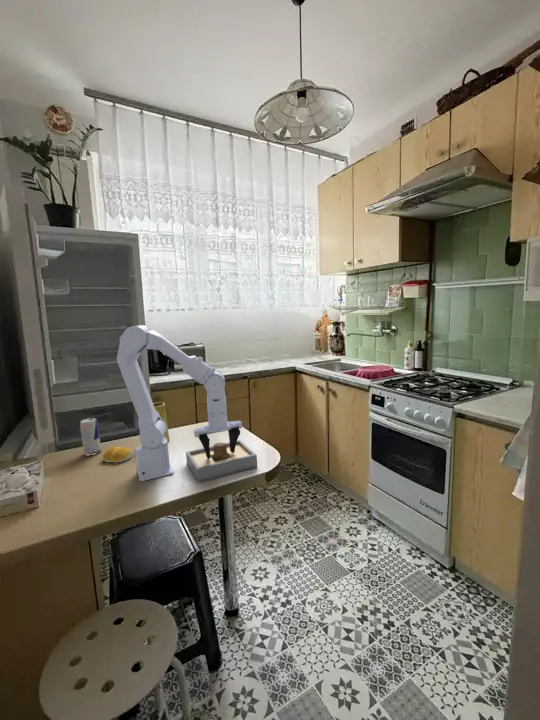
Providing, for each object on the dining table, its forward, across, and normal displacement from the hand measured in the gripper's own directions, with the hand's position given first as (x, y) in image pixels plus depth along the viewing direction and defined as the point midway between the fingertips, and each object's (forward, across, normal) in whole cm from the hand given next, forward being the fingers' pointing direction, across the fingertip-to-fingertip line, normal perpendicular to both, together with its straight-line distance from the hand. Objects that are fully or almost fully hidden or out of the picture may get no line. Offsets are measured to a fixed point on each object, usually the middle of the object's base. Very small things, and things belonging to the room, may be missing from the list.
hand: (220, 454), depth 109 cm
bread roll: (+4, -28, +24) cm, 37 cm away
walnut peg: (+3, 0, 0) cm, 3 cm away
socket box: (+3, 0, 0) cm, 3 cm away
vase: (+4, -13, +32) cm, 35 cm away
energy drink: (+4, -36, +34) cm, 50 cm away
